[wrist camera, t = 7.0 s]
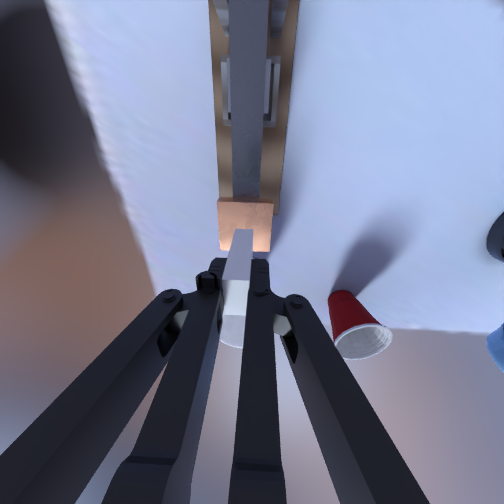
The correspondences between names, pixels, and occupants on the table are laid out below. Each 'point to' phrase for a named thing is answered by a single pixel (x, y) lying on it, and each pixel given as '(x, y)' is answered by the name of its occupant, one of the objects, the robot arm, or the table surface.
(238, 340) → the cup
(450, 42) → the table surface
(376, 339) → the plastic cup
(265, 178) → the press base
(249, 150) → the lever
